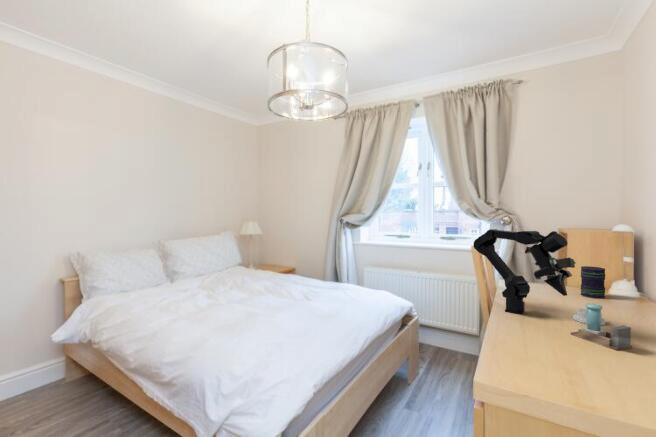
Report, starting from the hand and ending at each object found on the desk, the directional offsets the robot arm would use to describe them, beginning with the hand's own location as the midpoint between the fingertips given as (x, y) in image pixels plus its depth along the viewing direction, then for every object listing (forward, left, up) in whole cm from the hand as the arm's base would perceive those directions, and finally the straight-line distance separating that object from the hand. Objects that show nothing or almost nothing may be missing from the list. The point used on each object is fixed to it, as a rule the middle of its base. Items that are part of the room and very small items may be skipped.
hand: (565, 295), depth 116 cm
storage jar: (+8, +67, -13) cm, 69 cm away
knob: (+8, -5, -12) cm, 16 cm away
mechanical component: (+7, +17, -13) cm, 22 cm away
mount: (+10, -6, -12) cm, 17 cm away
